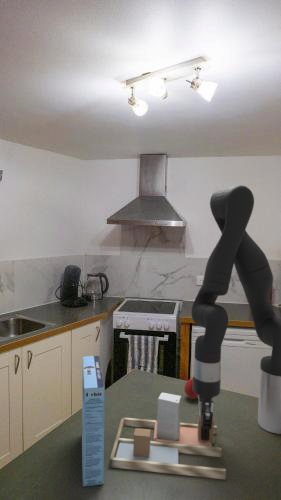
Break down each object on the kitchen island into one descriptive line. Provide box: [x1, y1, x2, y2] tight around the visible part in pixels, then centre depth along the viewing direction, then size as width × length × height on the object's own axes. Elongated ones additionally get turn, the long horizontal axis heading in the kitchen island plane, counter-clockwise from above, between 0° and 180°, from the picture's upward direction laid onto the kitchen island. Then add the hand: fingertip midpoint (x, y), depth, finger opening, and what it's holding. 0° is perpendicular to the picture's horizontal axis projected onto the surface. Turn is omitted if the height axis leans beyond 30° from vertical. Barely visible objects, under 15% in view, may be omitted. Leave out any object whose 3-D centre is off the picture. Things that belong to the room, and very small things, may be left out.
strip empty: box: [115, 427, 179, 464], centre depth 84 cm, size 16×7×7 cm, turn 84°
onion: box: [183, 376, 198, 400], centre depth 114 cm, size 6×6×8 cm
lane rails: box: [109, 416, 227, 480], centre depth 88 cm, size 28×18×2 cm, turn 84°
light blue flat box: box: [81, 355, 106, 487], centre depth 83 cm, size 20×5×23 cm, turn 10°
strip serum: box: [152, 414, 215, 447], centre depth 91 cm, size 16×8×7 cm, turn 84°
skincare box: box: [156, 392, 182, 441], centre depth 92 cm, size 6×4×12 cm
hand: (204, 435), depth 91 cm, fingers closed on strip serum, 3 cm apart
